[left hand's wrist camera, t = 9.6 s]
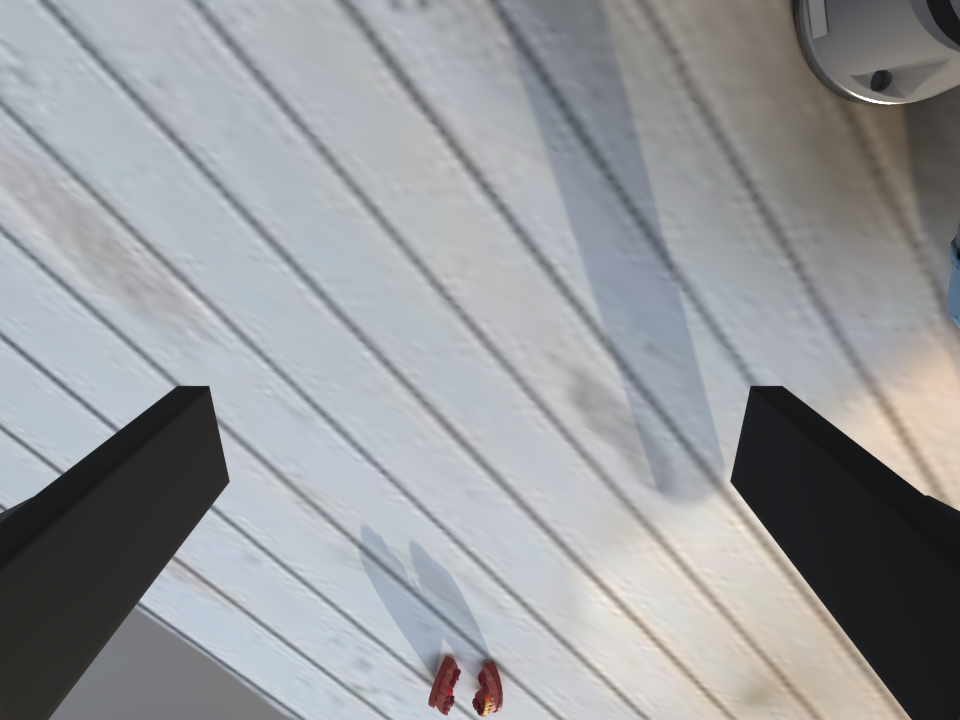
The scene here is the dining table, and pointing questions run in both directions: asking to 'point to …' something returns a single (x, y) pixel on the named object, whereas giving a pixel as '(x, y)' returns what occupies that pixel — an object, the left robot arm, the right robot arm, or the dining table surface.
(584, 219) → the dining table surface
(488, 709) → the dental model
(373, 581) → the dining table surface
